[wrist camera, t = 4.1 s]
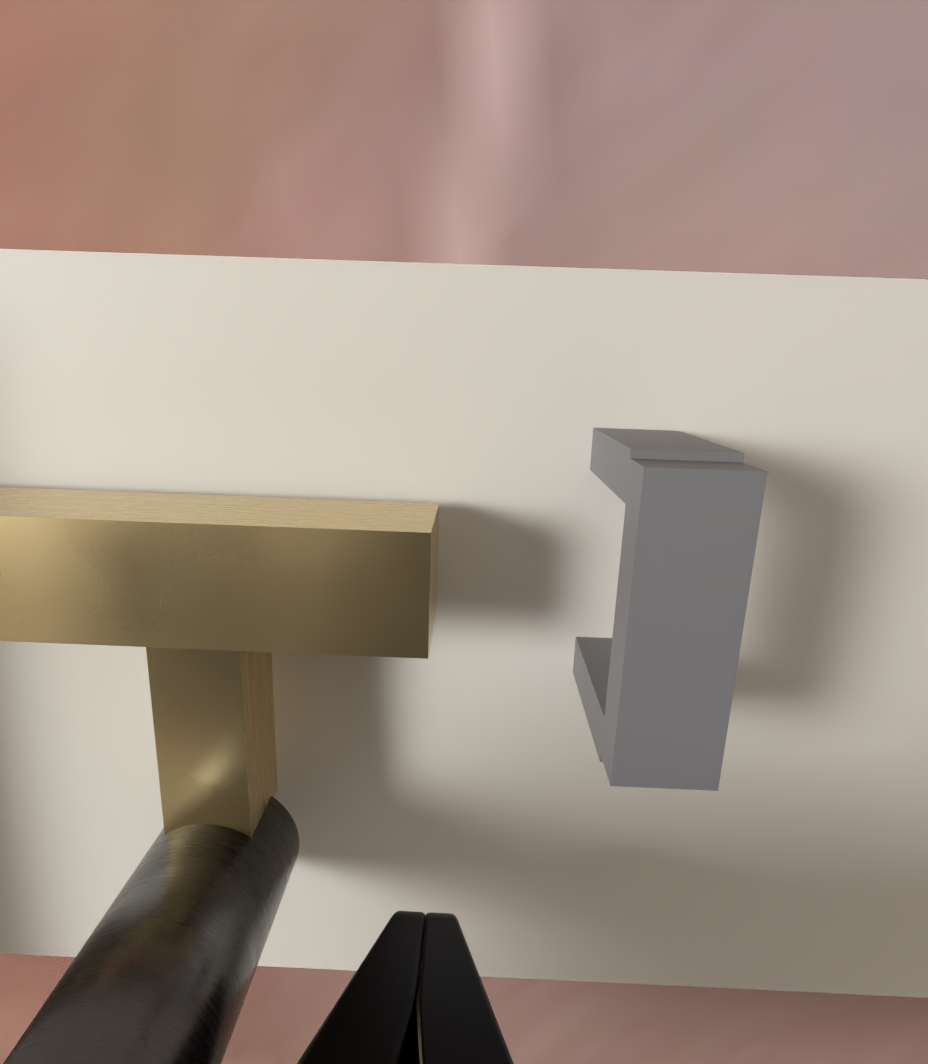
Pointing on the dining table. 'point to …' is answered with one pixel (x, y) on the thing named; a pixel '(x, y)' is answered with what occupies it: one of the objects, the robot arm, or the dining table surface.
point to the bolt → (202, 723)
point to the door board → (517, 606)
